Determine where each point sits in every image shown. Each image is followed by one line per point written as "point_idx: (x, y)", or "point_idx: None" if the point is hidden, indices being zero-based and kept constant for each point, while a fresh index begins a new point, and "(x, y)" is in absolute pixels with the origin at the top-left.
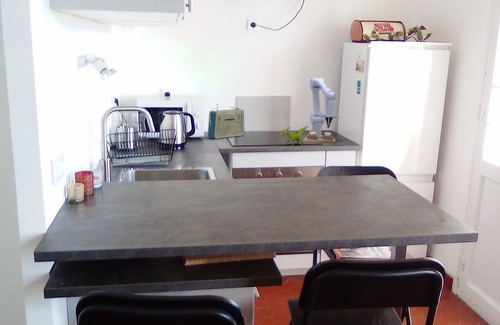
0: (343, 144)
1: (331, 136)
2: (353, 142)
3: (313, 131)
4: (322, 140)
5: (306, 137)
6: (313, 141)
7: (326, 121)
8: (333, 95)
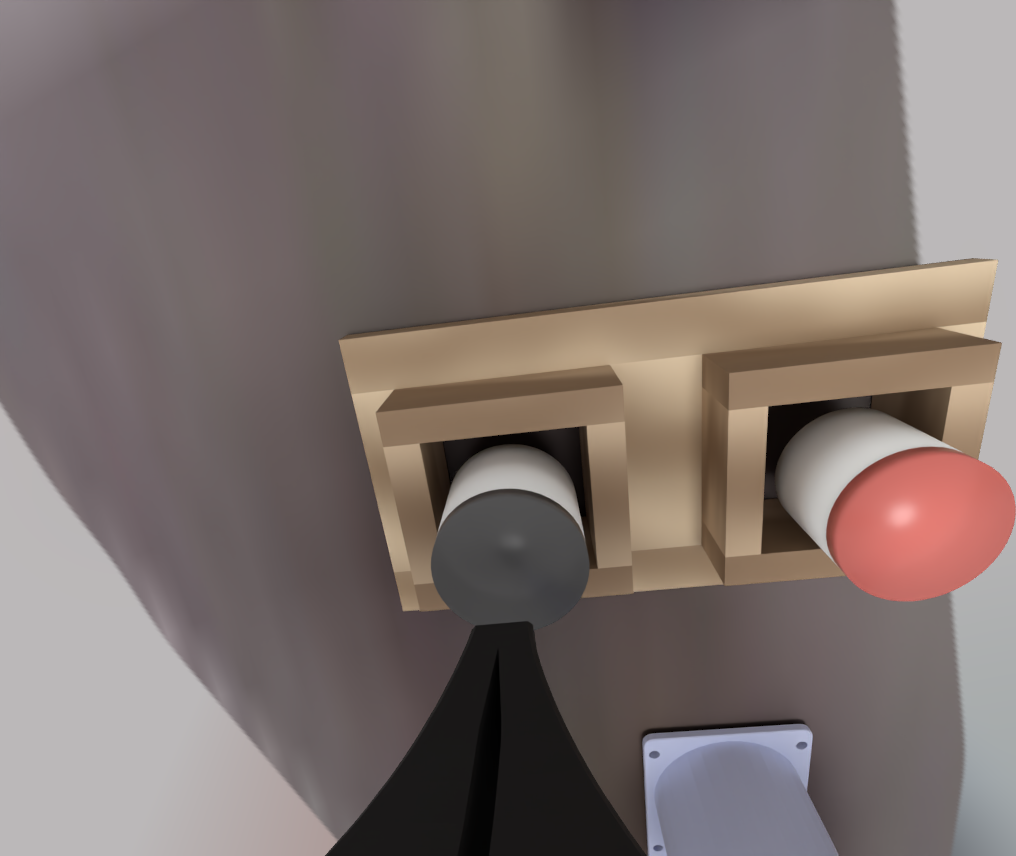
0: (151, 202)
1: None
2: (74, 488)
3: (905, 459)
4: (598, 335)
5: None
6: (776, 282)
7: (594, 800)
8: None
